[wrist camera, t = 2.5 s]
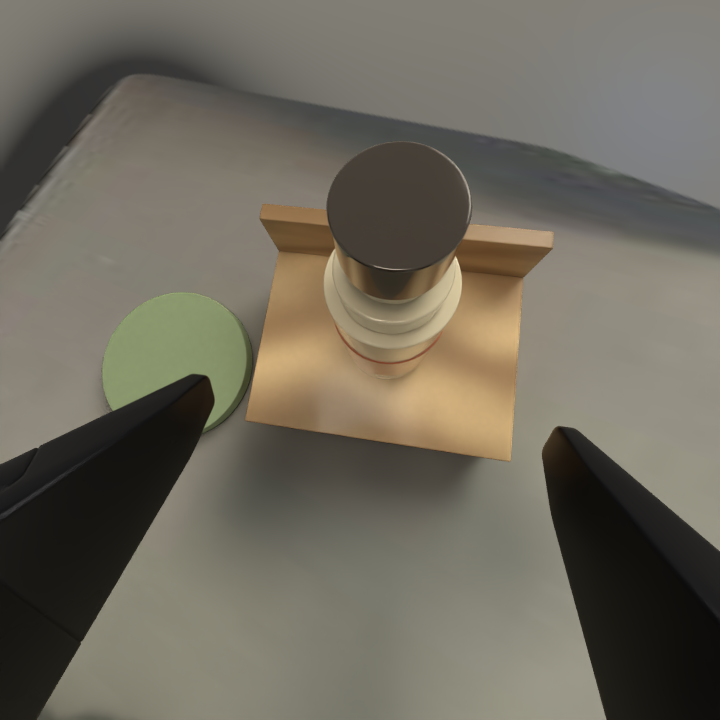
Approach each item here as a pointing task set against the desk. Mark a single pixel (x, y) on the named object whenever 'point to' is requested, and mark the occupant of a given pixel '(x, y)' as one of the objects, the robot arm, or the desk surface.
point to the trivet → (178, 352)
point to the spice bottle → (395, 254)
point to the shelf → (428, 380)
